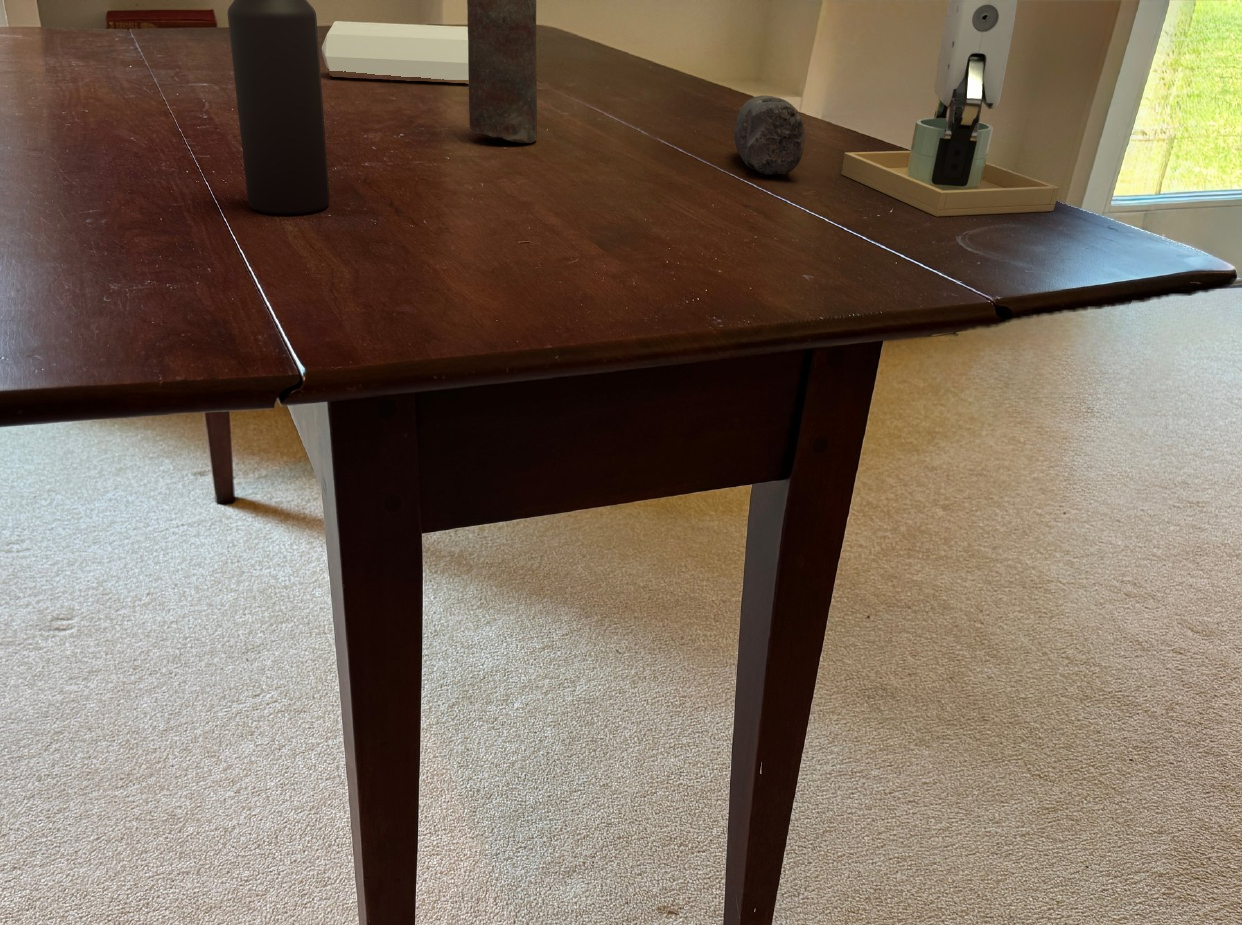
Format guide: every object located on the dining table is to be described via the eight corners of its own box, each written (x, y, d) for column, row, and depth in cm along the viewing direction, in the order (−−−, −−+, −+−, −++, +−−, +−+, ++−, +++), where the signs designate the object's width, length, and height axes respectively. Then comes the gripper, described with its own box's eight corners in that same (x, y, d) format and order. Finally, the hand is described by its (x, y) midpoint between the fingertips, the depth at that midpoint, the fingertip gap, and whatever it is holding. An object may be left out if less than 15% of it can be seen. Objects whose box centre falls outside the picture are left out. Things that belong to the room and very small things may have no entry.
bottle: (231, 209, 93) (199, -65, 83) (280, 193, 98) (255, -66, 88) (299, 220, 91) (275, -60, 80) (345, 203, 96) (328, -62, 86)
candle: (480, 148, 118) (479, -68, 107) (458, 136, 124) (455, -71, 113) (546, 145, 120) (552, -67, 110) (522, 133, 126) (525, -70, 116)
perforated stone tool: (720, 152, 120) (728, 82, 116) (768, 153, 120) (777, 83, 117) (749, 183, 107) (758, 106, 104) (802, 184, 107) (813, 107, 104)
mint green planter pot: (952, 176, 110) (965, 117, 107) (994, 192, 104) (1008, 130, 101) (891, 178, 108) (902, 118, 105) (930, 195, 102) (943, 132, 100)
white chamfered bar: (494, 48, 160) (332, 41, 163) (487, 25, 153) (318, 18, 155) (490, 100, 161) (328, 92, 163) (482, 79, 154) (314, 71, 156)
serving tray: (946, 170, 115) (950, 149, 114) (1053, 211, 101) (1059, 187, 100) (840, 174, 112) (844, 152, 111) (936, 216, 98) (941, 192, 97)
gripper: (1052, -29, 88) (998, 200, 98) (1017, -39, 103) (973, 160, 112) (955, -33, 90) (911, 193, 99) (933, -43, 104) (897, 155, 113)
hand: (944, 174), depth 105 cm, fingers closed on mint green planter pot, 7 cm apart
